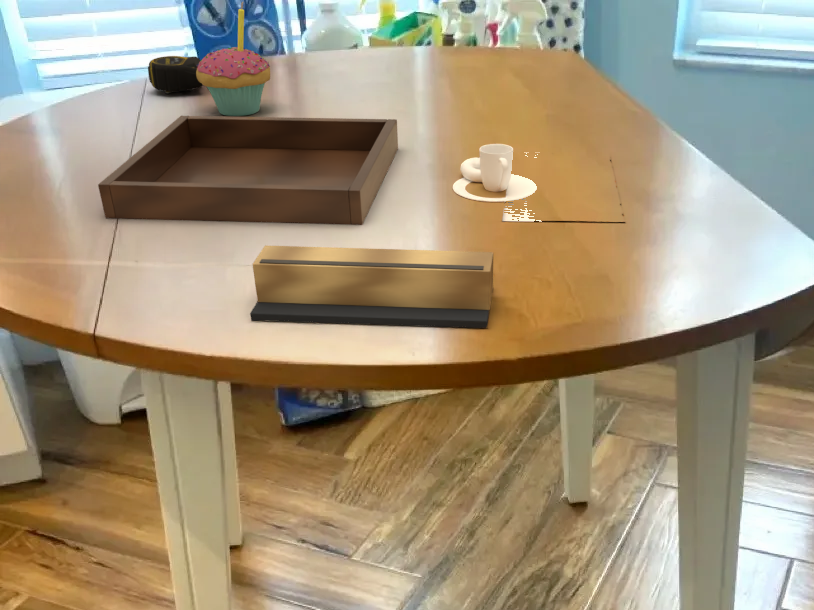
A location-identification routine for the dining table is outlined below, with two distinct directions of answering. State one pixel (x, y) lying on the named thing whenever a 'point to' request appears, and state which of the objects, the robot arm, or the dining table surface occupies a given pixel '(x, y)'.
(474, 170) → the teacup and saucer
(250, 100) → the cupcake
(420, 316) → the mat
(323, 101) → the dining table surface
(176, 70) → the tape measure
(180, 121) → the box
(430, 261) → the grooved wooden beam
